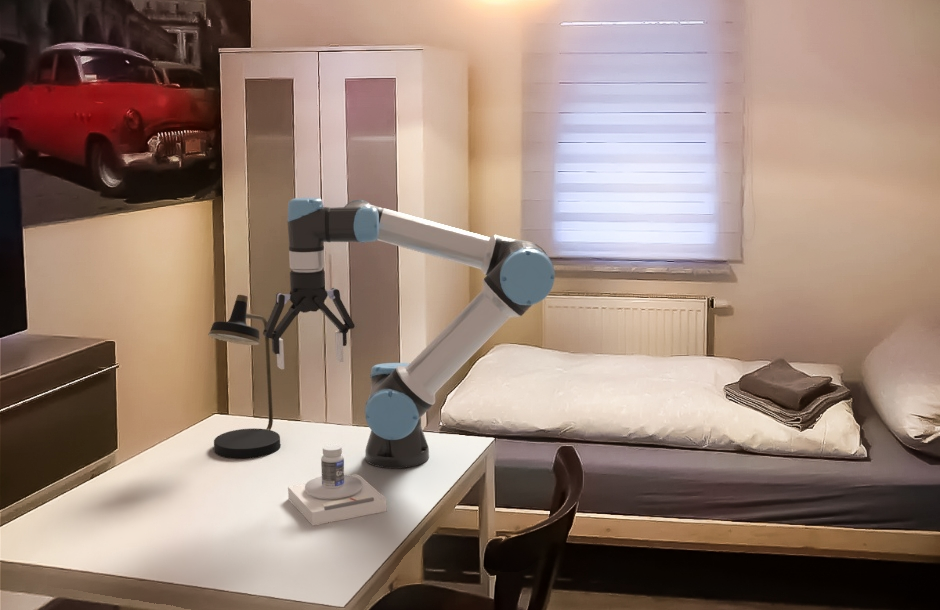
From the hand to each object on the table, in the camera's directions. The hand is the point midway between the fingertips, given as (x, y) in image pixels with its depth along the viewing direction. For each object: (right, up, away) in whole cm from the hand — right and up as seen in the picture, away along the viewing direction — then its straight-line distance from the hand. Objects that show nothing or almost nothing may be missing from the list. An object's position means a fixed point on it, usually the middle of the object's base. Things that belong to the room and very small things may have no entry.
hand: (310, 364), depth 230 cm
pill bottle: (+6, -25, -10) cm, 28 cm away
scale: (+7, -29, -10) cm, 32 cm away
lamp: (-19, -22, +28) cm, 40 cm away
